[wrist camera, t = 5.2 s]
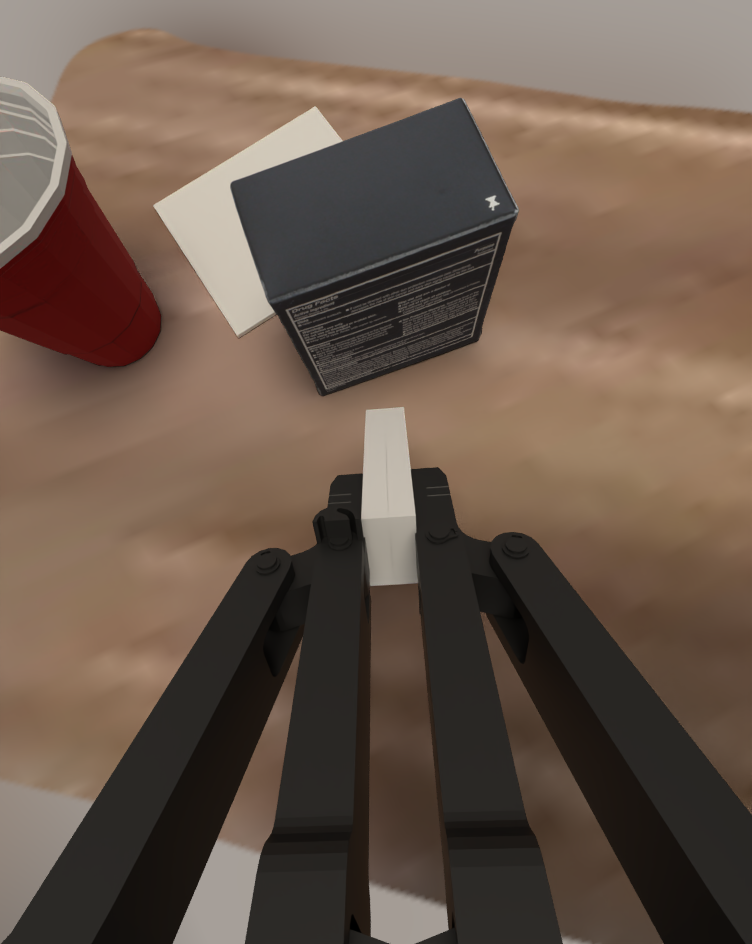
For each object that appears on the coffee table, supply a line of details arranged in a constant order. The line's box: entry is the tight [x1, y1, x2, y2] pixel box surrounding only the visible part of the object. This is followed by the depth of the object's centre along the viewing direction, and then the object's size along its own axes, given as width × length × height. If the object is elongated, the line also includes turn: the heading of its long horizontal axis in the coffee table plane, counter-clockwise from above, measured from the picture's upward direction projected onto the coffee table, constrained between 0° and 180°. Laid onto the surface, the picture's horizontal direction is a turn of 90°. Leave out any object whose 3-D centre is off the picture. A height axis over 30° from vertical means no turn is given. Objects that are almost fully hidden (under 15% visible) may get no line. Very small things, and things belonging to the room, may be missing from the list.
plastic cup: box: [0, 77, 161, 367], centre depth 23 cm, size 11×11×12 cm
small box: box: [230, 98, 519, 396], centre depth 23 cm, size 11×6×10 cm, turn 110°
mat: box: [153, 106, 342, 338], centre depth 29 cm, size 12×13×1 cm
